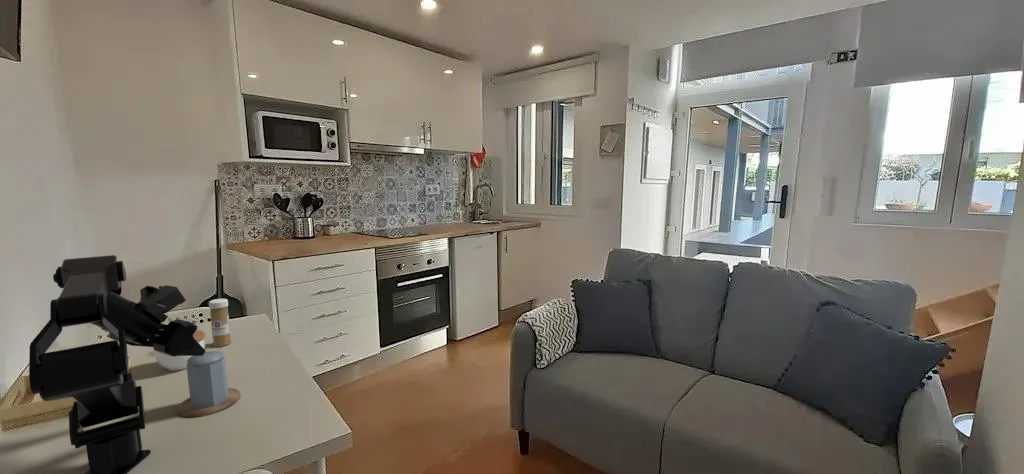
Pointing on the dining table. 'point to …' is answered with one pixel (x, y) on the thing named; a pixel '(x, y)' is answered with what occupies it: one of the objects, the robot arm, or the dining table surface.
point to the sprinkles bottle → (220, 322)
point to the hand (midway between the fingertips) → (189, 349)
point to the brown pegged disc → (190, 411)
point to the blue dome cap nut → (207, 379)
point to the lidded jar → (178, 361)
